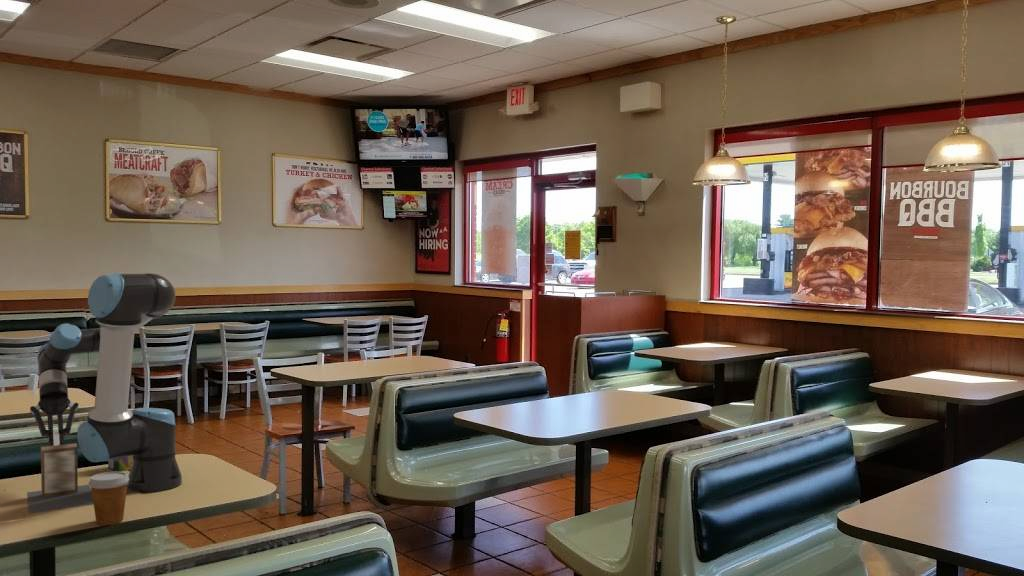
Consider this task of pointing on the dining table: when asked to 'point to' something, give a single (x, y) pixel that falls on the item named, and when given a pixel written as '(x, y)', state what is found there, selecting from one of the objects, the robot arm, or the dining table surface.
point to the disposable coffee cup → (109, 496)
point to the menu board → (59, 470)
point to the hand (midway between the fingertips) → (57, 453)
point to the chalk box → (121, 463)
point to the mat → (59, 500)
